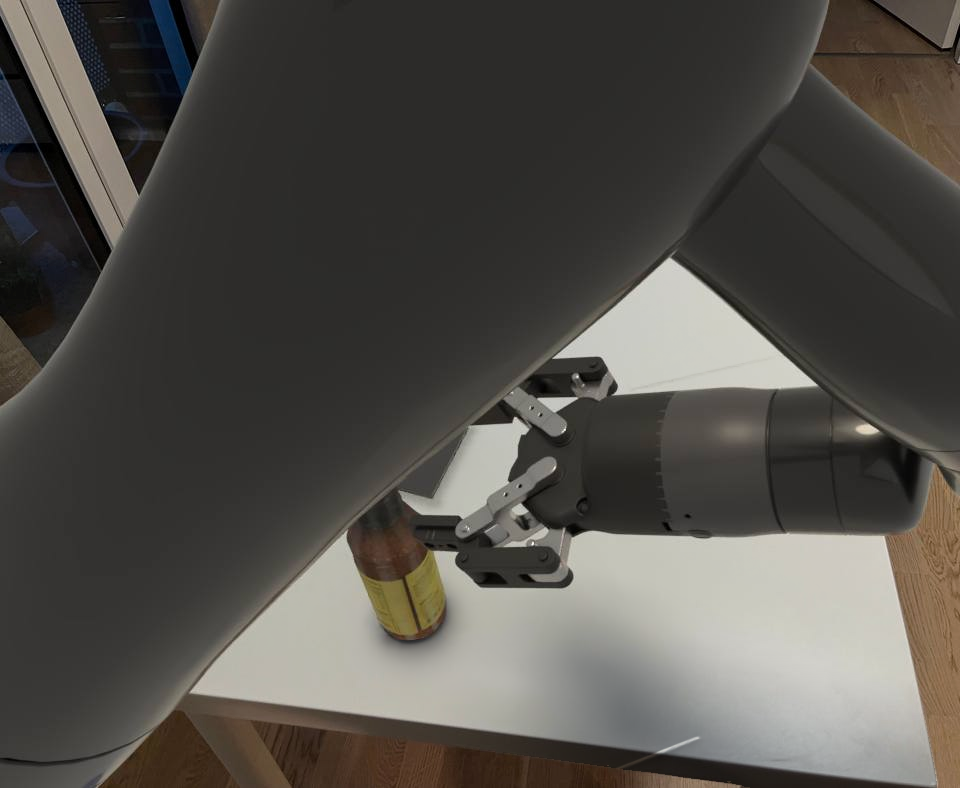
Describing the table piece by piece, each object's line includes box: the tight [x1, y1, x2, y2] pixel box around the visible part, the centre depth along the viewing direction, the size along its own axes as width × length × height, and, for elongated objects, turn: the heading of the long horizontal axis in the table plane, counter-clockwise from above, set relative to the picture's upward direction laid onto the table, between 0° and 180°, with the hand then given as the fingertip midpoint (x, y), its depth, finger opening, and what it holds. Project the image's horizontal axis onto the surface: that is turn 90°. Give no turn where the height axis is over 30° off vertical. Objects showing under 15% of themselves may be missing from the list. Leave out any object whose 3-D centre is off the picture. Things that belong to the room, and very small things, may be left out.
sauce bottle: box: [346, 486, 447, 641], centre depth 63 cm, size 6×6×20 cm
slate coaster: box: [397, 427, 469, 499], centre depth 84 cm, size 10×10×1 cm
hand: (437, 468), depth 50 cm, fingers open, 8 cm apart
